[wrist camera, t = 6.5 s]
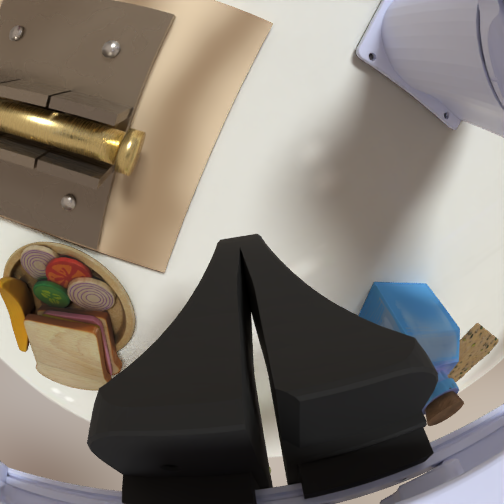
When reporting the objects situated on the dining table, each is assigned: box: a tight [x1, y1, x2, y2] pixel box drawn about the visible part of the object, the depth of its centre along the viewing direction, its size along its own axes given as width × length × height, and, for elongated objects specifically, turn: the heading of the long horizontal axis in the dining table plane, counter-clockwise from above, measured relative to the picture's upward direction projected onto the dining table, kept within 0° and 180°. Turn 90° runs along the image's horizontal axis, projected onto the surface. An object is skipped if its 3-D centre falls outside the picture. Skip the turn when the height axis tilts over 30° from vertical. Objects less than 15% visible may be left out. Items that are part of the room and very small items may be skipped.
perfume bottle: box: [359, 282, 464, 426], centre depth 22 cm, size 6×6×12 cm
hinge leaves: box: [0, 0, 176, 249], centre depth 13 cm, size 12×15×4 cm
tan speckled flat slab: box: [447, 323, 498, 382], centre depth 36 cm, size 12×12×1 cm
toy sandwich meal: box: [0, 242, 135, 390], centre depth 21 cm, size 12×14×5 cm
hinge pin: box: [0, 99, 146, 176], centre depth 13 cm, size 13×2×2 cm, turn 65°
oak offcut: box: [0, 0, 273, 272], centre depth 15 cm, size 18×18×1 cm
